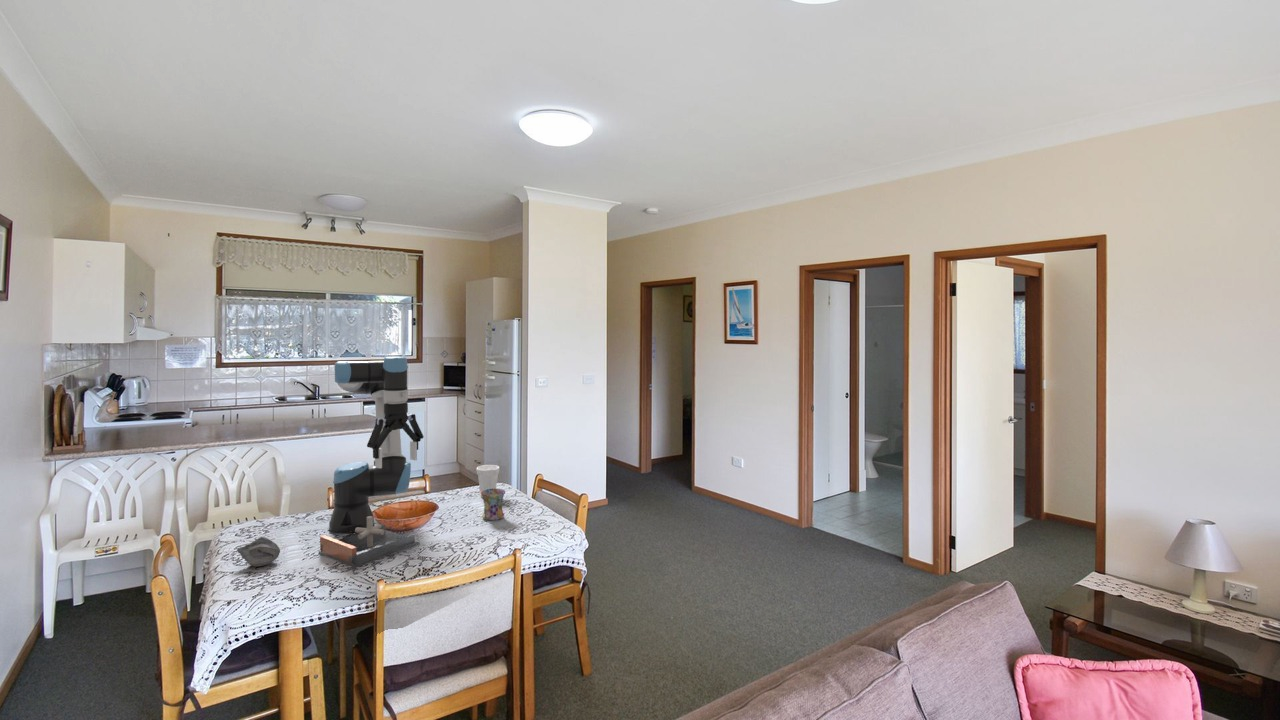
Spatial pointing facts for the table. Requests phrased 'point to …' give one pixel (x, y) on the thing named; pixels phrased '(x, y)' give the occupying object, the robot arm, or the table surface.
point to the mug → (493, 503)
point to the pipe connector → (369, 531)
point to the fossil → (260, 552)
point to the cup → (487, 476)
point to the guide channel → (364, 547)
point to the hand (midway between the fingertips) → (396, 463)
